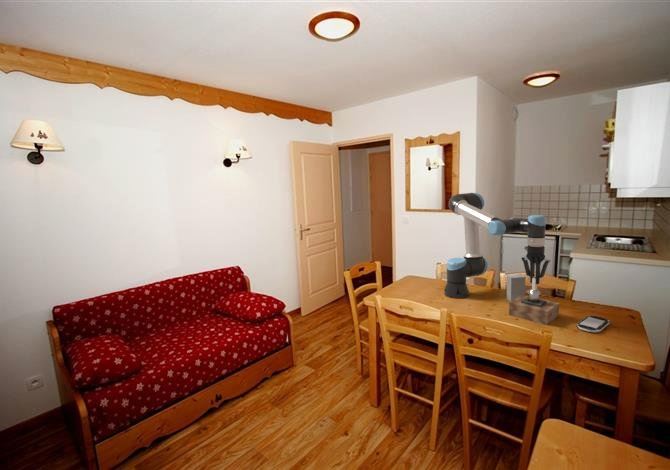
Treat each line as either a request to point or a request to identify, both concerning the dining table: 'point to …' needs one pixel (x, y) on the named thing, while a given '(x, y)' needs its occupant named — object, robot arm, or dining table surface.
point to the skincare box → (515, 286)
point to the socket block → (534, 310)
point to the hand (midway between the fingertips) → (534, 289)
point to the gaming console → (593, 324)
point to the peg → (534, 296)
